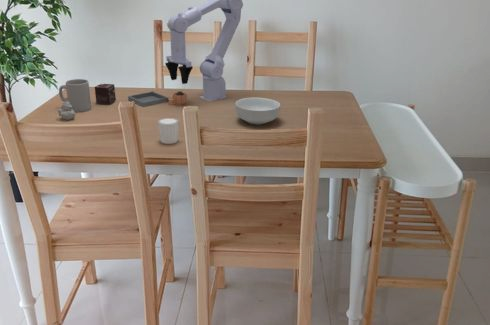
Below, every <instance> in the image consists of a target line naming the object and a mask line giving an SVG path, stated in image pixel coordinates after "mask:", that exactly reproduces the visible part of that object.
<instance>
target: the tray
mask: <svg viewBox="0 0 490 325" xmlns="http://www.w3.org/2000/svg"><path fill="white" fill-rule="evenodd" d="M127 99H128V101H129V102H131V101H134V102H135V103H134V102H133V103H134V104H136V105H139V106H141V107H143V108H145V107H150V106H156V105H158V104H164V103H168V102H169V99H170V98H169V97H168V96H166V95H163V94H161V93H158V92H155V91H147V92H142V93H137V94H132V95H128V96H127Z"/></svg>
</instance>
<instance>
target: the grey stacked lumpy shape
mask: <svg viewBox="0 0 490 325" xmlns="http://www.w3.org/2000/svg"><path fill="white" fill-rule="evenodd" d="M71 108H72V105H71V104H70V103H69V102H68V101H67V99H66V101H65V102H64V101H63V103H62V104H61V108H58V109H57V112H58V116H59V117H61V119H62V120H67V121H71V120H73V119H74V118H75V117H76V112H74V110H73V109H71Z"/></svg>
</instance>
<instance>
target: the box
mask: <svg viewBox="0 0 490 325" xmlns="http://www.w3.org/2000/svg"><path fill="white" fill-rule="evenodd" d="M94 93H95V101H96V105H101V106H102V105H104V106H111V105H112V104H114V103H115V102H116V100H117V98H116V89H115V84H113V83H112V84H111V83H100V84H97V85H96V86H94Z"/></svg>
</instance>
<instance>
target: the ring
mask: <svg viewBox="0 0 490 325" xmlns="http://www.w3.org/2000/svg"><path fill="white" fill-rule="evenodd" d="M181 92H182V95H181V96H180V95H177V92H174V93H173V94H172V98H168V99H169V103H168V105H169V106H174V105H173V104H186V103H187V100H188V96H187V95H188V93H185V92H183V91H181Z"/></svg>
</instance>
